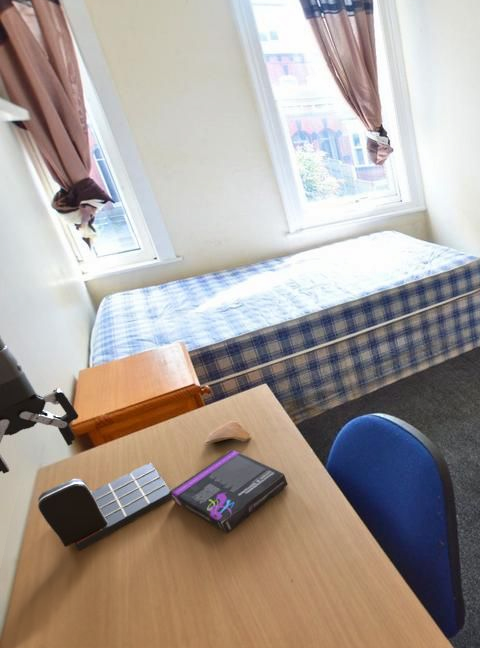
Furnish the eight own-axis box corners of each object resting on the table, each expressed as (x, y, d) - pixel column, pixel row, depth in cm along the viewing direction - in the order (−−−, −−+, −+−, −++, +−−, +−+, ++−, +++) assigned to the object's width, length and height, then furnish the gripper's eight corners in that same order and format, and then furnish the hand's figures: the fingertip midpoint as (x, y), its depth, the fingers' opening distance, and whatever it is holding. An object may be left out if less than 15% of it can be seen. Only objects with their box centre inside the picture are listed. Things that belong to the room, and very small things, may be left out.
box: (174, 503, 98) (226, 535, 89) (167, 491, 97) (219, 522, 87) (237, 460, 109) (289, 484, 99) (232, 448, 108) (284, 472, 98)
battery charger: (107, 515, 94) (81, 471, 90) (110, 525, 92) (83, 481, 87) (62, 538, 90) (32, 493, 85) (64, 549, 87) (33, 503, 83)
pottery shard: (251, 440, 115) (248, 432, 114) (209, 456, 111) (205, 448, 110) (248, 420, 124) (245, 412, 123) (208, 434, 119) (204, 426, 118)
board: (79, 550, 89) (75, 544, 88) (65, 512, 99) (61, 506, 98) (174, 497, 100) (171, 491, 99) (153, 467, 109) (150, 461, 109)
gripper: (45, 355, 84) (85, 428, 90) (-73, 392, 75) (-19, 471, 81) (51, 365, 80) (93, 442, 86) (-74, 407, 70) (-17, 490, 76)
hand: (39, 456), depth 83 cm, fingers open, 8 cm apart
